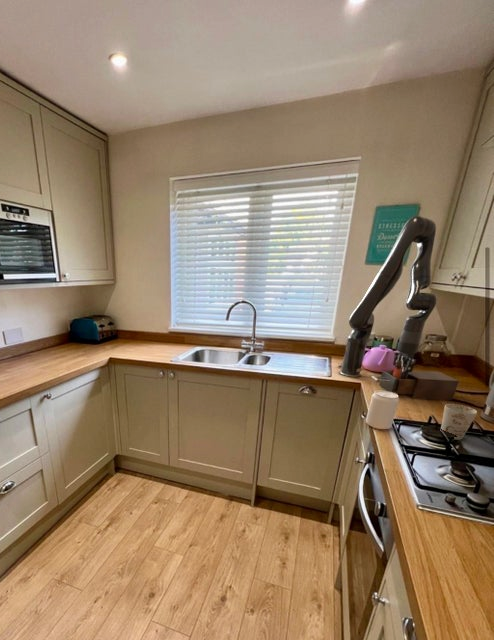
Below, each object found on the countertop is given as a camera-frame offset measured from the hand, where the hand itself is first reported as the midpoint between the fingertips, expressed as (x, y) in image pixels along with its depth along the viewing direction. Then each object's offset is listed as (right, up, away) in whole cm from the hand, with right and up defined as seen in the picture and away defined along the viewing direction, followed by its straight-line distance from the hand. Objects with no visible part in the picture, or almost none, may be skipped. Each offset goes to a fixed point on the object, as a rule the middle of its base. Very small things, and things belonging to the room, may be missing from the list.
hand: (399, 378), depth 149 cm
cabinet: (+12, -7, +1) cm, 14 cm away
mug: (-5, -22, -36) cm, 42 cm away
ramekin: (0, 0, 0) cm, 1 cm away
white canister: (-28, -19, -31) cm, 46 cm away
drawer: (0, -5, +2) cm, 6 cm away
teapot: (+11, +6, +35) cm, 37 cm away
